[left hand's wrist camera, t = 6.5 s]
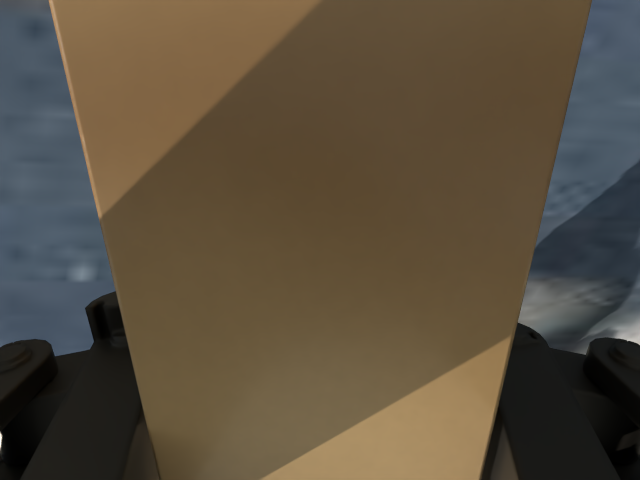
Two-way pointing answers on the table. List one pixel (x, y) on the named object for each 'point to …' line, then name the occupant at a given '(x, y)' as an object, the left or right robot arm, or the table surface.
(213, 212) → the long box
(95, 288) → the table surface
